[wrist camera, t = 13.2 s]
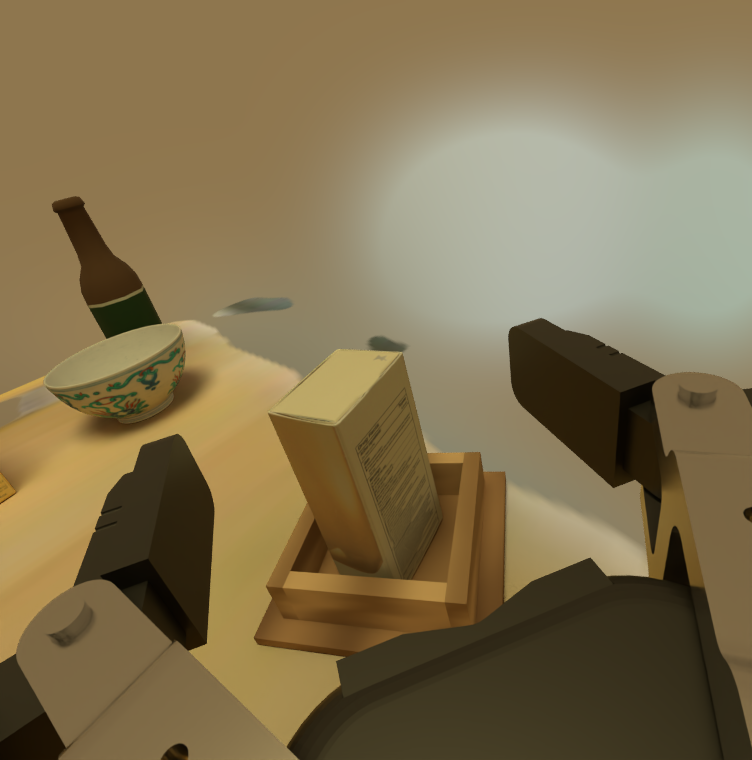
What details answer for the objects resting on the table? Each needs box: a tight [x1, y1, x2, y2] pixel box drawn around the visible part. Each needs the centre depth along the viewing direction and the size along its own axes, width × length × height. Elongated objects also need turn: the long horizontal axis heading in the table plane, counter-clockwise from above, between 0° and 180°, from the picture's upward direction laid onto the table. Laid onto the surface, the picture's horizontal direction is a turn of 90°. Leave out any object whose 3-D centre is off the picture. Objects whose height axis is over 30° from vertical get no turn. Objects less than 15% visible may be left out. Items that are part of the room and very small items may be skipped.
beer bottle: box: [52, 196, 162, 339], centre depth 64 cm, size 8×8×24 cm
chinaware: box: [44, 324, 185, 424], centre depth 54 cm, size 15×15×8 cm
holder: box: [254, 452, 506, 657], centre depth 27 cm, size 13×13×3 cm
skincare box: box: [268, 349, 443, 580], centre depth 25 cm, size 6×4×12 cm
